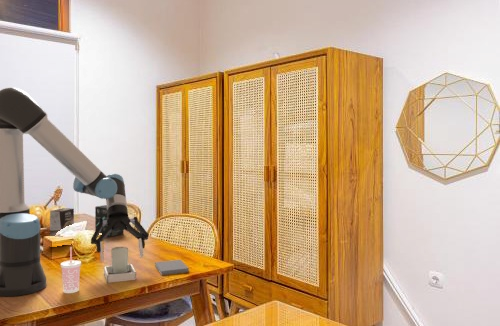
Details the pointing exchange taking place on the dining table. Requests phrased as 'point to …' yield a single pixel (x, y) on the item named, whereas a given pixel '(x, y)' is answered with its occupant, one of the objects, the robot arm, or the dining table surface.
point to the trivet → (171, 267)
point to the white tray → (119, 276)
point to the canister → (119, 260)
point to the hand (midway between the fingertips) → (122, 257)
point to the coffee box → (60, 219)
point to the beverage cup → (71, 274)
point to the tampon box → (102, 214)
